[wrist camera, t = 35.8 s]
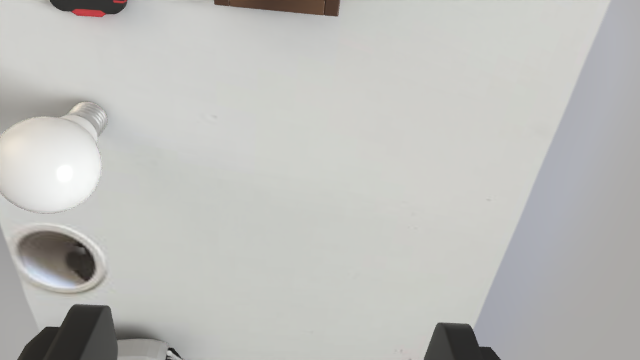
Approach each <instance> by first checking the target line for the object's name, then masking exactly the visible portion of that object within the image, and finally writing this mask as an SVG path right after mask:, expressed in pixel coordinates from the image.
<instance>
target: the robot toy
mask: <svg viewBox="0 0 640 360" xmlns="http://www.w3.org/2000/svg"><path fill="white" fill-rule="evenodd" d="M117 344H118V357H117V360H184V359H182V358H181V357H180V356H179V354H178V353H177V352H176V351H175V350H174V348H170V347H169V345H168V344H167V343H165V342H162V341H158V340H155V339H124V340H117Z"/></svg>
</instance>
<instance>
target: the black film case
mask: <svg viewBox="0 0 640 360" xmlns="http://www.w3.org/2000/svg"><path fill="white" fill-rule="evenodd" d="M50 2H51V3H52V4H53V5H54V6H55V7H56V8H57V9H59V10H62V11H71V12H73V13H74V14H76V15H77V16H93V17H102V16H104V15H105V14H117V13H119V12H120V11H121V10H123V9H124V8H125V6H126V4H127V0H50Z"/></svg>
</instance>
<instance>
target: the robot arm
mask: <svg viewBox="0 0 640 360" xmlns="http://www.w3.org/2000/svg"><path fill="white" fill-rule="evenodd" d="M117 357H118V344H117V339H116V334H115V329H114V324H113V319H112V314H111V309H110V307H109V306H104V305H83V304H75V305H73V306H72V307H71V308H70V310H69V312H68V313H67V315H66V317H65V319H64V321H63V323H62V325H61V327H45V328H44V329H43V330H42V331H41V332H40V333H39V334H38V335H37V336H36V337H34V338H33V339H32V340H31V341H30V342H29V343H28V344H27V345H26V346H25V348H24V349H23V351H22V353H21V354H20V356H19V358H18V359H17V360H117ZM424 360H501V359H500V358H499V357H498V356H497V355H496V353H495V352H494V351H493V350H492V349H491V347H479V345H478V343H477V340H476V337H475V334H474V332H473V329H472V328H471V326H470V325H469V324H460V323H438V324H437V325H436V327H435V330H434V333H433V335H432V338H431V341H430V344H429V346H428V349H427V352H426V355H425V357H424Z"/></svg>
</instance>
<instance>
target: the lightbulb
mask: <svg viewBox="0 0 640 360" xmlns="http://www.w3.org/2000/svg"><path fill="white" fill-rule="evenodd" d="M107 123H108V119H107V115H106V113H105V112H104V110H103V109H102V108H101V107H99V106H98V105H96V104H94V103H91V102H80V103H78V104H76V105H75V106H74V107H73V108H72V109H71V110H70V111H69V112H68V113H67V114H66V115H64V116H60V117H49V116H42V117H34V118H29V119H26V120H23V121H20V122H18V123H16V124H14V125H13V126H11V127H10V128H8V129H7V130H6V131H5V132H4V133H3V134H2V135H1V136H0V193H1V194H2V195H3V196H4V197H5V198H6V199H7V200H8V201H10V202H11V203H12V204H14V205H16V206H17V207H19V208H22V209H24V210H27V211H30V212H35V213H42V214H52V213H59V212H63V211H67V210H70V209H72V208H74V207H76V206H78V205H80V204H81V203H83V202H84V201H85V200H86V199H87V198H88V197H89V196H90V195H91V194H92V193H93V192H94V190H95V189H96V187H97V185H98V183H99V181H100V178H101V173H102V158H101V154H100V151H99V148H98V146H97V143H98V137H99V136H100V134H101V133H102V131H103V130H104V129H105V128H106V126H107Z"/></svg>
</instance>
